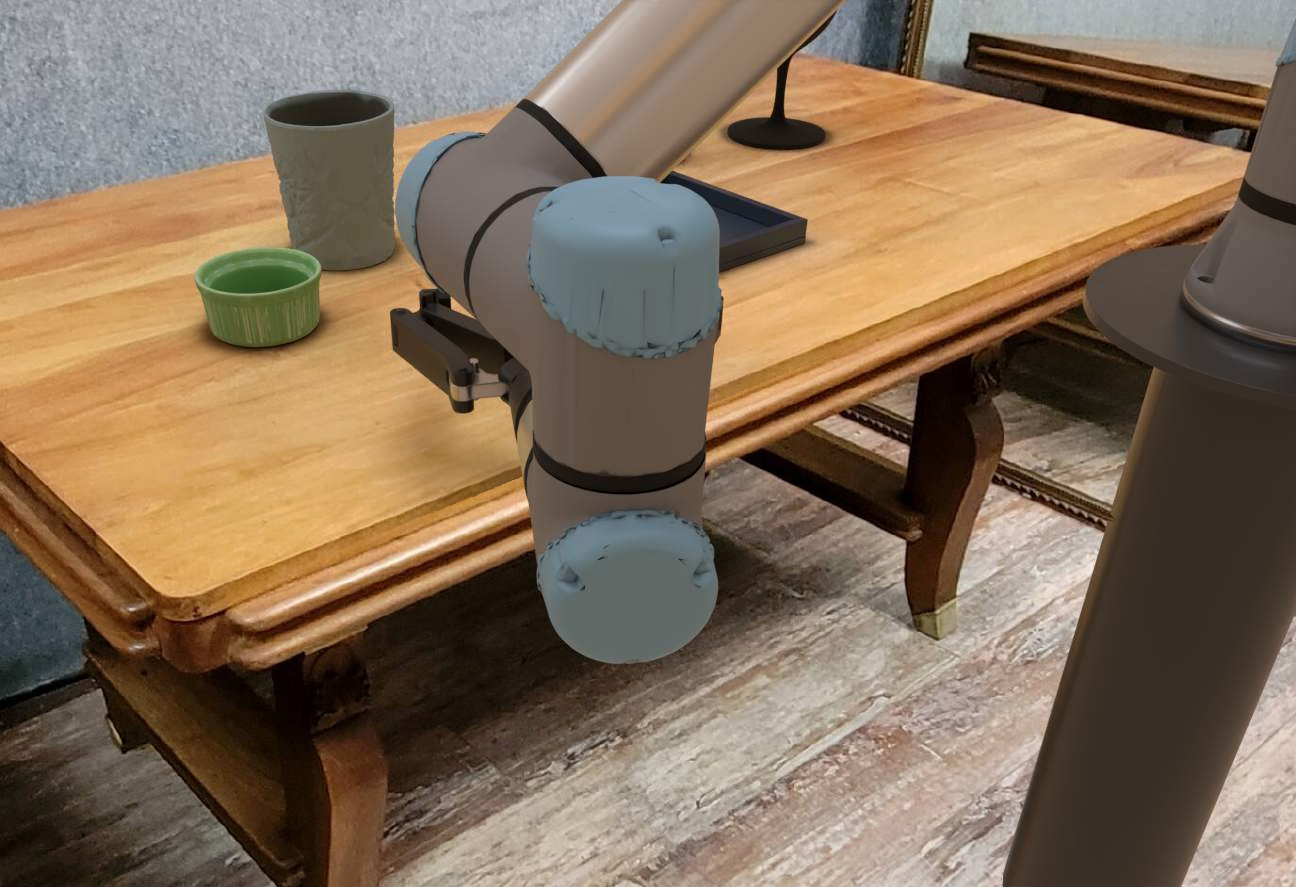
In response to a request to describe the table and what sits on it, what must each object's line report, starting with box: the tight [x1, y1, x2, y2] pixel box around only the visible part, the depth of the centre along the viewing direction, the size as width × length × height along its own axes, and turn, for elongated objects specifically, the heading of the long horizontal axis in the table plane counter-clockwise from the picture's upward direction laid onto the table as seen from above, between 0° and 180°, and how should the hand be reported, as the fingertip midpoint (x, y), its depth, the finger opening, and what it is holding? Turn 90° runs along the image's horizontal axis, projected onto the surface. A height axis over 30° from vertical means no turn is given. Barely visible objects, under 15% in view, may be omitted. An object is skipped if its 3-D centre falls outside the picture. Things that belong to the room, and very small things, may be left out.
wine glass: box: [726, 8, 839, 150], centre depth 127 cm, size 10×10×20 cm
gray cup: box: [262, 89, 396, 271], centre depth 101 cm, size 10×10×12 cm
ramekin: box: [193, 246, 322, 348], centre depth 91 cm, size 9×9×4 cm
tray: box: [660, 170, 809, 273], centre depth 107 cm, size 18×16×2 cm
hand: (545, 273), depth 83 cm, fingers open, 13 cm apart
